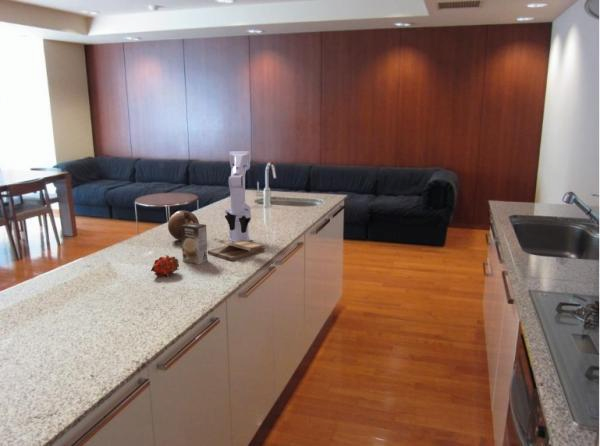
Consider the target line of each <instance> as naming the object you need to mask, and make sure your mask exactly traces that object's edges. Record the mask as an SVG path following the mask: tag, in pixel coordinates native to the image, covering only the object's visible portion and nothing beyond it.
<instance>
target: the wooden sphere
mask: <svg viewBox="0 0 600 446" xmlns="http://www.w3.org/2000/svg"><path fill="white" fill-rule="evenodd" d="M187 223H197V224H200V222H199V219H198V217H197V216H196V215H195V214H194V213H193V212H191V211H188V210H178V211H176V212H174V213H173V214H172V215H171V216H170V218H169V219H168V223H167V230H168V232H169V234H170V235H171V237H172V238H174V239H175V240H177V241H181V242H182V234H181V226H182V225H184V224H187Z"/></svg>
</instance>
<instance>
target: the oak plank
mask: <svg viewBox="0 0 600 446" xmlns="http://www.w3.org/2000/svg"><path fill="white" fill-rule="evenodd" d="M213 241H215V242H218V243H221V244H224V245H226V246H227V245H230V246H234V247H238V248H241V249H245V250H249V251H250V250H251V248H248V247H245V246H242V245H238V244H235V243H232V242H233V241H229V240H228V241H226V240H224V239H219V238H217V237H214V239H213Z"/></svg>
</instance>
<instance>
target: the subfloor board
mask: <svg viewBox="0 0 600 446" xmlns="http://www.w3.org/2000/svg"><path fill="white" fill-rule="evenodd" d="M231 242H232V243H235V244H238V245H242V246H245V247H248V248H251V250H250V251H249V250H245V249H241V248H238V247H234V246H230V245H227V244H226V245H224V246H219V247H216V248H213V249H212V248H211V249H209V250H207V255H210V256H213V257H217V258H219V259H224V260H227V261H231V262H232V261H235V260H239V259H242V258H246V257H248V256H253V255H256V254H258V253H262V252H265V247H263V246H262V244H259V243H255V242H252V241H244V240H239V241H235V242H234V241H231Z"/></svg>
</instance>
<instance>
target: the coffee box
mask: <svg viewBox="0 0 600 446" xmlns="http://www.w3.org/2000/svg"><path fill="white" fill-rule="evenodd" d="M181 234H182V241H181V249H182V252H181V253H182V262H185V263H191V264H196V265H200V264H202V263H205V262H207V261H208V240H207V239H208V237H207V235H208V234H207V224H204V223H203V224H202V223H199V224H197V223H187V224H184V225H182V226H181Z"/></svg>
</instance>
